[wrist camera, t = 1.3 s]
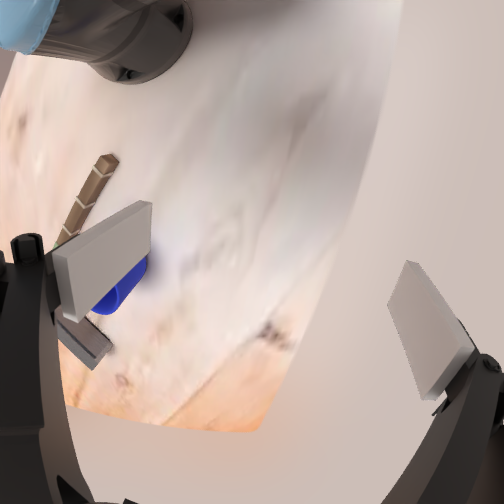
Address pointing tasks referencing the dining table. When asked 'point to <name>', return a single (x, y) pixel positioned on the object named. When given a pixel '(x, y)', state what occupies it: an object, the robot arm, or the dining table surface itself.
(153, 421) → the dining table surface
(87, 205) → the brown and green stick
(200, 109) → the dining table surface
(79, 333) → the grooved grey block
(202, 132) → the dining table surface
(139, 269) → the mug
